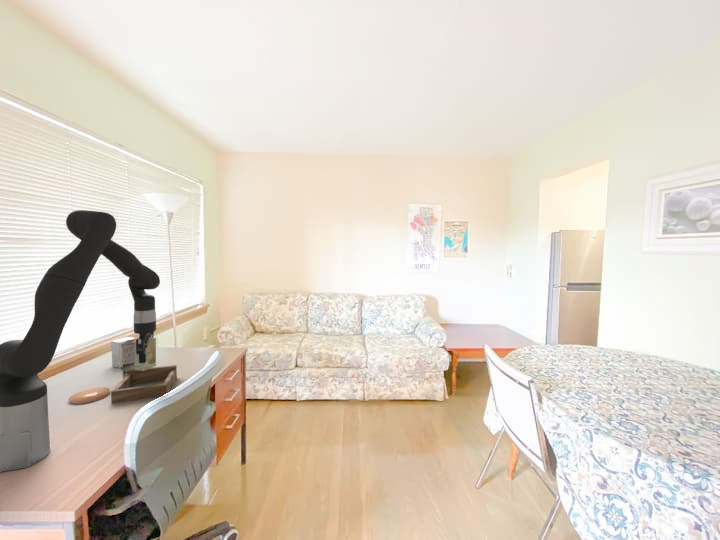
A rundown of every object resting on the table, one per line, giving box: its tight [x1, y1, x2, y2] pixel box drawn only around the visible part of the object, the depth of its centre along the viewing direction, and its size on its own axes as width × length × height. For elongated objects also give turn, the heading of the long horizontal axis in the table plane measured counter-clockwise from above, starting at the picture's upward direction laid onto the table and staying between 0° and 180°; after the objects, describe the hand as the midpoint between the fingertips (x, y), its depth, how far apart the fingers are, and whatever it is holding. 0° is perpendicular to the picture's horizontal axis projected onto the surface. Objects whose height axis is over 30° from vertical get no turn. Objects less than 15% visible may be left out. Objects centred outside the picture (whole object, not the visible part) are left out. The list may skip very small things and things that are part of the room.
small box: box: [110, 336, 137, 369], centre depth 150 cm, size 8×6×13 cm
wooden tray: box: [110, 364, 178, 404], centre depth 124 cm, size 18×18×6 cm
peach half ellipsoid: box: [68, 386, 111, 405], centre depth 117 cm, size 12×12×1 cm
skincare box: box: [135, 337, 157, 371], centre depth 123 cm, size 6×4×12 cm
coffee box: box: [122, 338, 137, 380], centre depth 137 cm, size 9×6×16 cm
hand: (145, 359), depth 123 cm, fingers closed on skincare box, 7 cm apart
